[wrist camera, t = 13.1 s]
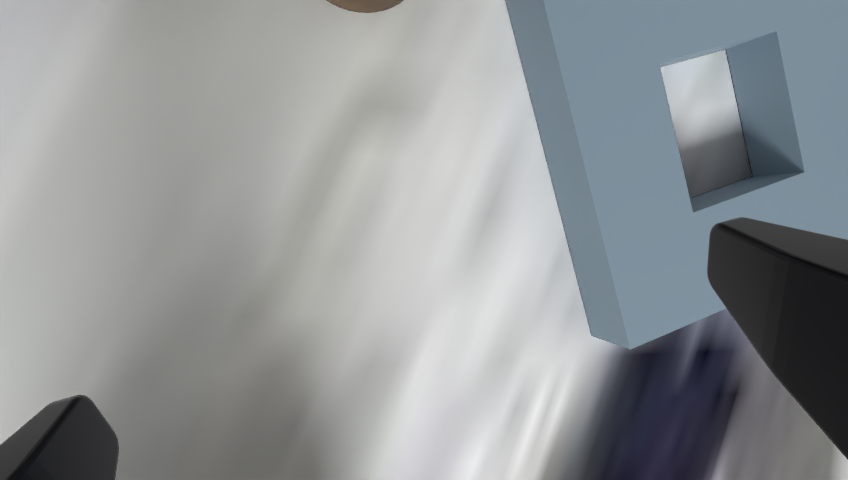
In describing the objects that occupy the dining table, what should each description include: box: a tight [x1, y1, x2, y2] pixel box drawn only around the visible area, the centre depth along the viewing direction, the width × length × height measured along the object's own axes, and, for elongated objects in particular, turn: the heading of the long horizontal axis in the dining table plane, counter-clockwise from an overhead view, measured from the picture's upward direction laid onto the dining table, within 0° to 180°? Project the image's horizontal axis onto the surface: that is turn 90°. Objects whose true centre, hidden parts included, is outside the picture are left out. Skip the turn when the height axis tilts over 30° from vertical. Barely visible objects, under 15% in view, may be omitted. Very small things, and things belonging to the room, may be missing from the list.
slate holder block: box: [505, 0, 848, 349], centre depth 23 cm, size 14×14×2 cm
